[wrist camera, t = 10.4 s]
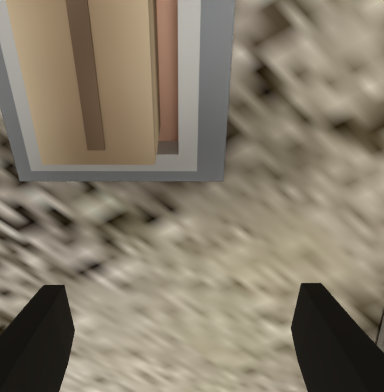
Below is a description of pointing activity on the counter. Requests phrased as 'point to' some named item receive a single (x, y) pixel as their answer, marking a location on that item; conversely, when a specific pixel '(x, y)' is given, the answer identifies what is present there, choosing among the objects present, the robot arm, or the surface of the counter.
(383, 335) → the coffee box
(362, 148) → the counter surface
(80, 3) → the maple block
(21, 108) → the board
